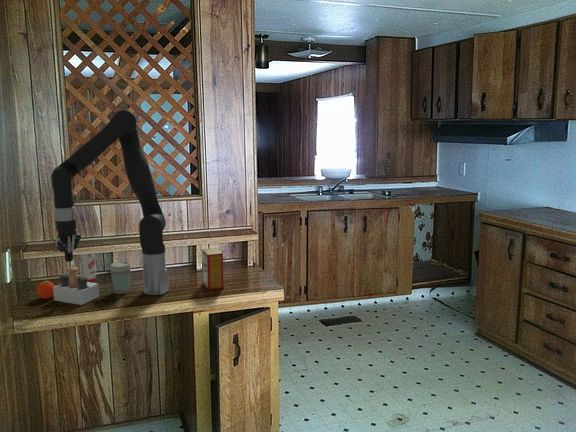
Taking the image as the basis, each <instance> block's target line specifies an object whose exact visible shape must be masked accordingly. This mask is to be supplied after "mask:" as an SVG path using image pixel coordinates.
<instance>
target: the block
mask: <svg viewBox="0 0 576 432" xmlns="http://www.w3.org/2000/svg"><path fill="white" fill-rule="evenodd" d="M53 293H54V296H53V301H55V302H62V303H68V304H74V305H80V306H82V305H85V304H88V303H89V302H91V301H93V300H95V299H97V298H99V297H100V287H99V283H96V282H94V283H91V282H87V288H86V289H84V290H82V289H79V287H77V288H70V285H69V286H67V287H62V286H61V283H60V284H57V285H55V287H53Z"/></svg>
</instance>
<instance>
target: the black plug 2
mask: <svg viewBox="0 0 576 432" xmlns="http://www.w3.org/2000/svg"><path fill="white" fill-rule="evenodd" d="M87 280H88V278H87V277H81V276H80V277H78V278H77V281H78V286H79V289H82V290H84V289H86V288H87Z"/></svg>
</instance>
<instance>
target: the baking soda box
mask: <svg viewBox="0 0 576 432" xmlns="http://www.w3.org/2000/svg"><path fill="white" fill-rule="evenodd" d="M201 256H202V257H201V259H202V260H201V261H202V285H203V286H204V285H205V286H204V287H205V288H206V290H207V291H208V290H209V291H214V290H213V289H217V290H222V289H221V288H223V289H224V253H223V252H222V251H221V250H220V249H219V248H218V247H212V248H203V249H201Z"/></svg>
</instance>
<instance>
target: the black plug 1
mask: <svg viewBox="0 0 576 432" xmlns="http://www.w3.org/2000/svg"><path fill="white" fill-rule="evenodd" d="M59 279H60V284H61V286H62V287H67V286H69V285H70V283H69V273H68V274H66V273H65V274H61V275H59Z"/></svg>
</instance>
